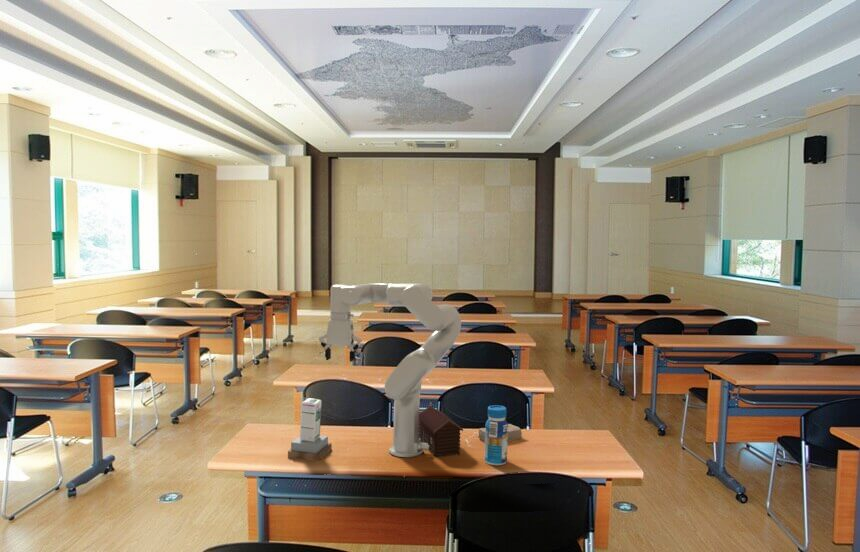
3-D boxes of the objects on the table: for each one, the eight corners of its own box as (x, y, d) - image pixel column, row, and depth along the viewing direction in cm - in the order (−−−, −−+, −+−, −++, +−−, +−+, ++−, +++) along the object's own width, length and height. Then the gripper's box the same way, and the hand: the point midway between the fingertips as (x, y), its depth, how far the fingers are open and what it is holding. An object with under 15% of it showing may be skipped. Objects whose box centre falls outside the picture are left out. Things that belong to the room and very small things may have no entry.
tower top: (327, 443, 231) (327, 436, 231) (316, 453, 222) (316, 445, 221) (303, 441, 234) (303, 433, 233) (291, 450, 224) (291, 442, 224)
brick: (509, 433, 255) (509, 422, 255) (522, 439, 248) (523, 427, 248) (477, 439, 247) (477, 428, 246) (489, 446, 239) (490, 434, 239)
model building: (415, 439, 245) (416, 402, 244) (443, 436, 249) (443, 400, 247) (433, 458, 225) (434, 418, 224) (462, 454, 229) (463, 415, 228)
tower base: (331, 450, 232) (331, 443, 232) (318, 462, 221) (318, 454, 220) (302, 447, 235) (302, 440, 235) (287, 459, 223) (287, 451, 223)
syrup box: (314, 442, 224) (316, 404, 222) (299, 439, 225) (301, 401, 224) (319, 437, 230) (322, 399, 228) (305, 434, 231) (307, 397, 229)
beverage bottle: (479, 459, 225) (481, 405, 223) (499, 456, 228) (501, 403, 227) (491, 467, 217) (492, 412, 216) (511, 464, 221) (513, 409, 219)
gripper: (364, 316, 239) (364, 359, 240) (323, 314, 243) (322, 356, 244) (358, 318, 232) (357, 363, 233) (315, 316, 235) (315, 360, 237)
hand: (340, 360), depth 238 cm, fingers open, 9 cm apart
